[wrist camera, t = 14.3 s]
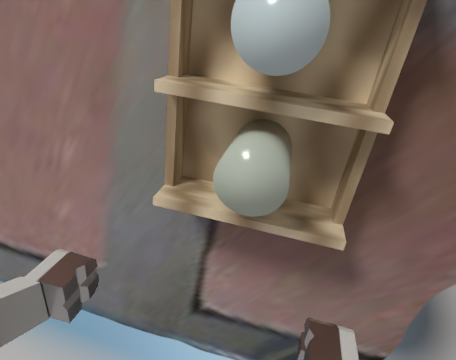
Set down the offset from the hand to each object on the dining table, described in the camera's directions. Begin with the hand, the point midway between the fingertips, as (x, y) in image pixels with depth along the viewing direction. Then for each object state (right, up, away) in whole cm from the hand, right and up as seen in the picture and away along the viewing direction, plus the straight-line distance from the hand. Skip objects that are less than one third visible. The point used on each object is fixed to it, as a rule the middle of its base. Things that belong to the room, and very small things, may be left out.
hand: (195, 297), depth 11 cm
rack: (+6, +14, +20) cm, 25 cm away
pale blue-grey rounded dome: (+6, +18, +16) cm, 25 cm away
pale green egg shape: (+5, +8, +22) cm, 24 cm away
